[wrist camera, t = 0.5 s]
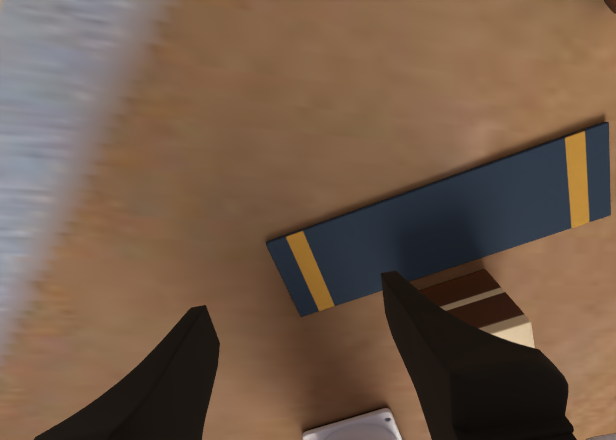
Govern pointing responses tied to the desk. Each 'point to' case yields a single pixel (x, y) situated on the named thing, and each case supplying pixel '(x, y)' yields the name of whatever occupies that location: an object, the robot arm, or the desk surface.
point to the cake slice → (483, 306)
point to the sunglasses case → (611, 5)
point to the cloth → (449, 221)
